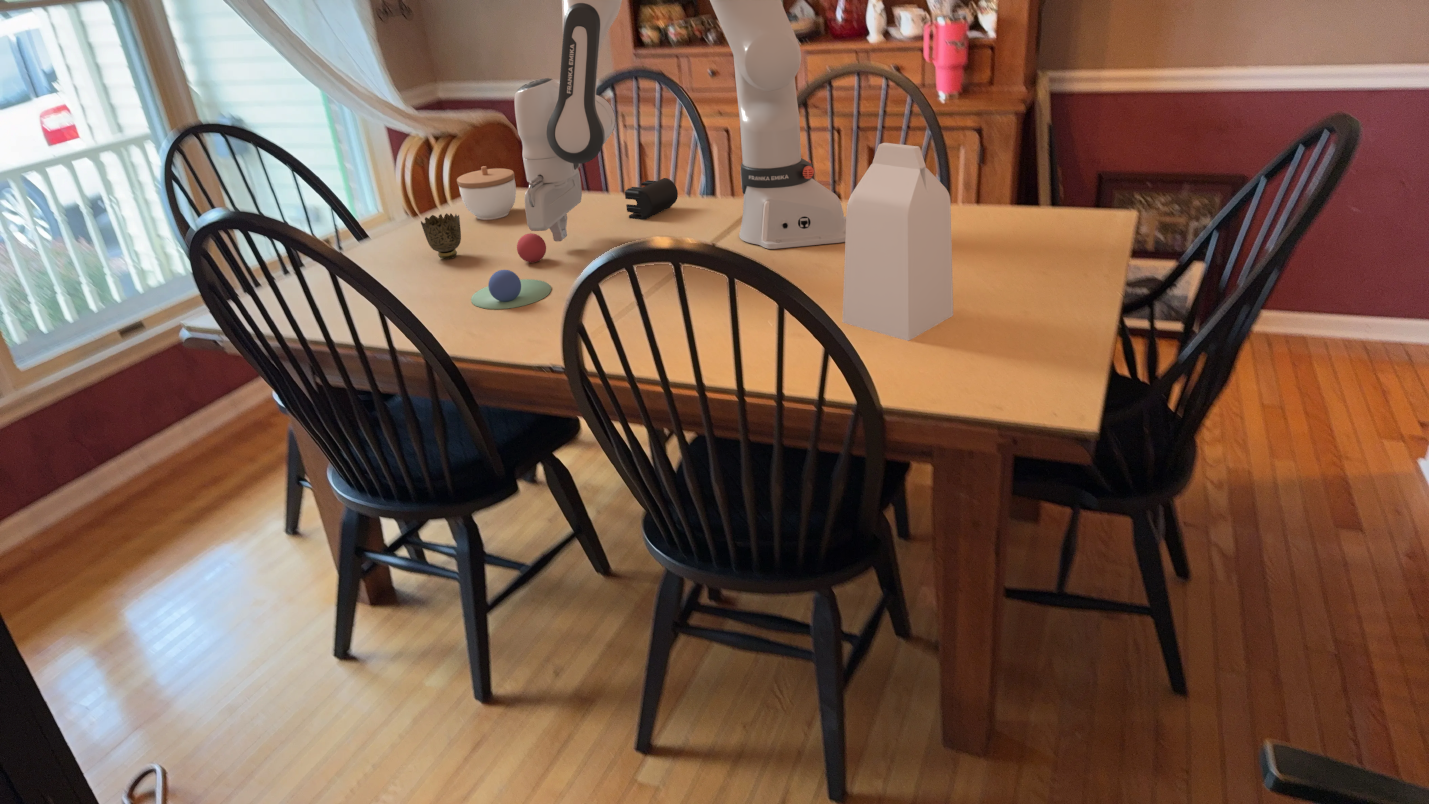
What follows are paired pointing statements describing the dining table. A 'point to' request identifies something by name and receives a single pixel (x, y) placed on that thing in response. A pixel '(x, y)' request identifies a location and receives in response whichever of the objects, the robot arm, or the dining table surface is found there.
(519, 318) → the dining table surface
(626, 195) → the end cap
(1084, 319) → the dining table surface
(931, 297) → the milk
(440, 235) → the cup
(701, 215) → the dining table surface
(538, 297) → the pale green ellipsoid
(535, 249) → the red rubber ball
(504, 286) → the navy ball
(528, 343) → the dining table surface
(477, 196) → the lidded bowl
